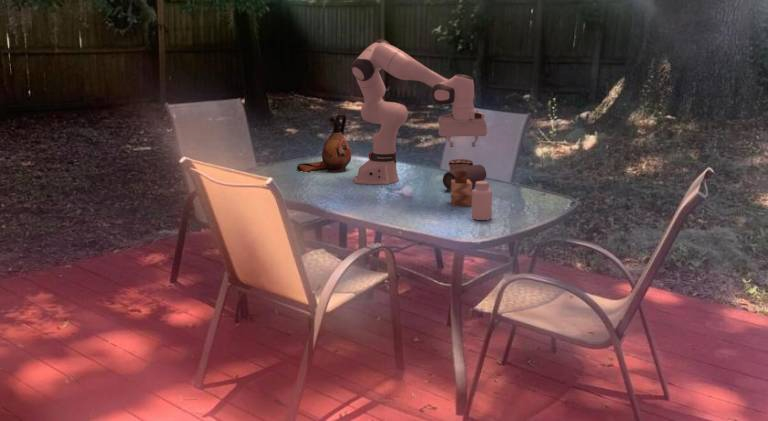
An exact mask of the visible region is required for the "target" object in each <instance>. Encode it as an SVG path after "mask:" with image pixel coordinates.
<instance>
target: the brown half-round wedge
mask: <svg viewBox="0 0 768 421" xmlns="http://www.w3.org/2000/svg"><path fill="white" fill-rule="evenodd" d="M447 164H448V166H449V171H452V170H455V169H459V168H462V167H467V166H472V165H474V162H473V160H471V159H464V158H459V159H457V158H456V159H451V160H449V162H448V163H447Z"/></svg>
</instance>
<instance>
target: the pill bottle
mask: <svg viewBox="0 0 768 421" xmlns="http://www.w3.org/2000/svg"><path fill="white" fill-rule="evenodd" d="M489 184H490V182H488V181H487V180H483V181H477V182H476V183H475V184H474V185H475V186H474V187H475V188H474V189H473V188H472V206H471V219H472V218H473V219H472V220H474V219H476V220H475V221H477V220H487V221H490V220H491V219H492V211H493V209H492V208H493V205H492V203H493V191H492V190H491V189H490V185H489ZM489 219H490V220H489Z"/></svg>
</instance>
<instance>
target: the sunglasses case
mask: <svg viewBox="0 0 768 421" xmlns="http://www.w3.org/2000/svg"><path fill="white" fill-rule="evenodd" d="M296 169H297V170H300V171H303V172H308V173H311V172H310V171H314V172H320V171H326V170H327V171H328V168H327V167H326V166H325V164H324V162H323V160H321V161H314V162H313V161H312V162H306V163H305V162H303V163H299V164H297V167H296ZM319 170H320V171H319ZM300 171H299V172H300ZM303 172H302V173H303Z"/></svg>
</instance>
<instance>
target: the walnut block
mask: <svg viewBox="0 0 768 421" xmlns="http://www.w3.org/2000/svg"><path fill="white" fill-rule="evenodd" d="M455 182H456V183H467V171H466V169H456V170H455Z"/></svg>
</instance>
